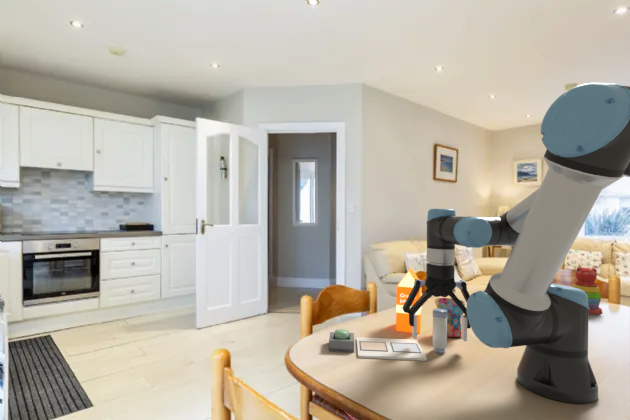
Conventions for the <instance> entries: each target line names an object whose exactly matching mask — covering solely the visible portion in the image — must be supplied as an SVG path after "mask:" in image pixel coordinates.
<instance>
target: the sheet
mask: <svg viewBox="0 0 630 420" xmlns="http://www.w3.org/2000/svg"><path fill="white" fill-rule="evenodd" d="M356 347H357V358H360V359H381V360H400V361H401V360H402V361H404V360H405V361H423V362H426V361H428V358H427V356H426V353H424V351H423V349H422V347H421V345H420V343H419V342H418V339H408V338H405V339H404V338H386V337H385V338H383V337H362V336H360V337H358V336H356Z"/></svg>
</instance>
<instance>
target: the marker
mask: <svg viewBox="0 0 630 420" xmlns="http://www.w3.org/2000/svg"><path fill="white" fill-rule="evenodd" d="M432 347H433V348H434V349H433V351H434V352H435V353H437V354H445V353H446V348H448V337H447V310H444V309H437V308H433V309H432Z"/></svg>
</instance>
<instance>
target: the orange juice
mask: <svg viewBox="0 0 630 420" xmlns="http://www.w3.org/2000/svg"><path fill="white" fill-rule="evenodd" d="M415 279H418V280H420V278H419V277H418V276H417V274H416V273H415V271H414V270H413V268H412V267H410V268H409V269H408V270H407V272H406V274H405V275H404V276H403V277H402V279H401V280H400V281H399V282H398V284H397V285H396V305H395V306H396V307H395V309H396V310H395V311H396V312H395V313H396V315H395V318H396V319H395V331H396V332H397V331H398V332H404V333H405V332H406V333H412V326H410V324H409V314H408V313H405V312H404V311H403V309H402V308H403V306H404V304H405V302H406V300H407V298H408V296H409V294H410V292H411V291H412V289H413V287H414V281H415ZM422 288H423V287H422ZM422 288H420V289H419V292H418V294H417V295H416V297H415V299H414V301H413V303H412V305H411V307H412V306H413V305H414V303H415V302H416V301H417V300H418V299H419V298H420V297H421V296H422V295H423V293H422V292H423V291H422V290H423V289H422ZM411 307H410V308H411ZM422 308H423V305H422V306H421V307H420V309H419V310H418V311H417V312H416V315H417V334H420V333H421V329H422V310H423V309H422Z"/></svg>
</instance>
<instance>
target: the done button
mask: <svg viewBox="0 0 630 420" xmlns="http://www.w3.org/2000/svg"><path fill="white" fill-rule="evenodd" d="M334 332H335V339H343V340H348V339H349V333H350V331H349V330H348V329H345V328H344V329H343V328H339V329H335V330H334Z"/></svg>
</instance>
